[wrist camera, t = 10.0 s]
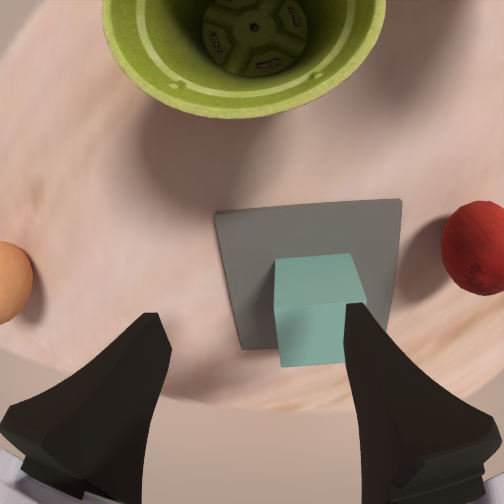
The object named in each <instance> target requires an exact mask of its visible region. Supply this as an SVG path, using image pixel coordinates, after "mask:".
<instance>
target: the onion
mask: <svg viewBox="0 0 504 504" xmlns="http://www.w3.org/2000/svg"><path fill="white" fill-rule="evenodd" d="M441 251H442V259H443V263H444V266H445V268H446V270H447V272H448V273H449V275H450V276H451V278H452V279H453V281H454V282H455V283H456V284H457V285H458V286H459V287H460V288H462V289H464V290H466V291H469V292H471V293H474V294H477V295H482V296H488V295H493V294H497V293H499V292H502V291H504V208H502V207H500V206H499V205H497V204H495V203H493V202H491V201H475V202H472V203H469V204H467V205H464V206H461V207H460V208H459V209H458V210H457V211H455V212H454V213H453V214H452V215H451V216H450V218H449V220H448V221H447V223H446V225H445V227H444V230H443V234H442V239H441Z"/></svg>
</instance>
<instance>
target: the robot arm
mask: <svg viewBox="0 0 504 504" xmlns="http://www.w3.org/2000/svg"><path fill="white" fill-rule="evenodd" d="M343 347H344V355H345V363H346V369H347V374H348V378H349V382H350V387H351V391H352V395H353V400H354V404H355V409H356V413H357V419H358V426H359V437H360V450H361V473H362V504H504V472H502V473H500V474H498V475H496V476H494V477H492V478H490V479H488V480H486V481H484V482H483V479H482V475H483V474H484V473H485V469H484V465H483V463H484V462H485V461H487V460H488V459H489V458H490V457H491V456H492V455H493V454H494V453H495V452H496V451H497V450H498V449H499V447H500V445H501V443H502V439H501V436H500V433H499V430H498V427H497V425H496V423H495V421H494V419H493V417H492V416H490V415H488V414H486V413H484V412H482V411H480V410H478V409H476V408H474V407H472V406H470V405H469V404H467V403H465V402H464V401H462V400H461V399H459V398H457V397H456V396H454V395H453V394H451V393H450V392H449V391H447V390H446V389H444V388H443V387H442V386H440V385H439V384H438V383H436V382H435V381H434V380H432V379H431V378H430V377H429V376H428V375H426V374H425V373H424V372H423V371H422V370H421V369H420V368H419V367H418V366H416V365H415V364H414V363H413V362H412V361H411V360H410V359H409V358H408V357H407V356H406V355H405V353H404V352H403V351H402V350H401V349H400V348H399V347H398V346H397V345H396V344H395V343H394V341H393V340H392V339H391V338H390V337H389V335H388V334H387V333H386V332H385V331H384V329H383V328H382V327H381V326H380V324H379V323H378V322H377V321H376V319H375V318H374V317H373V315H372V314H371V313H370V311H369V310H368V308H367V307H366V306H365V304H364V303H363V302H359V303H348V304H346V312H345V325H344V338H343ZM171 352H172V347H171V345H170V342H169V340H168V338H167V335H166V333H165V330H164V328H163V325H162V323H161V320H160V318H159V315H158V313H143V314H142V315H141V316H140V317H139V318H138V319H136V320H135V321H134V322H133V323H132V324H131V325H130V326H129V327H128V328H127V329H126V330H125V331H124V332H123V333H122V334H120V335H119V336H118V337H117V338H116V339H115V340H114V341H113V342H112V343H111V344H110V345H109V346H108V347H106V348H105V349H104V350H103V351H102V352H101V353H100V354H98V355H97V356H96V357H95V358H94V359H93V360H92V361H90V362H89V363H88V364H87V365H85V366H84V367H83V368H81V369H80V370H79V371H77V372H76V373H74V374H73V375H72V376H70V377H68V378H67V379H65V380H64V381H62V382H61V383H59V384H57V385H56V386H54V387H52V388H50V389H48V390H47V391H45V392H43V393H41V394H39V395H36V396H34V397H32V398H30V399H27V400H25V401H22V402H19V403H17V404H14V405H11V406H10V407H9V409H8V410H7V412H6V414H5V416H4V418H3V420H2V421H1V423H0V433H1V434H2V435H3V436H4V437H5V438H6V439H7V440H8V441H9V442H10V443H12V444H13V445H14V446H15V447H16V448H17V449H18V450H20V451H21V452H22V453H23V454H24V455H26V457H25V459H24V460H22V459H21V458H19V457H17V456H16V455H14V454H12V453H10V452H9V451H7V450H5V449H2V450H1V452H0V503H1V504H141V503H142V498H141V497H142V475H143V464H144V456H145V449H146V443H147V438H148V432H149V427H150V422H151V419H152V416H153V412H154V409H155V406H156V403H157V401H158V398H159V395H160V392H161V389H162V386H163V383H164V380H165V377H166V374H167V371H168V367H169V362H170V357H171Z"/></svg>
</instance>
